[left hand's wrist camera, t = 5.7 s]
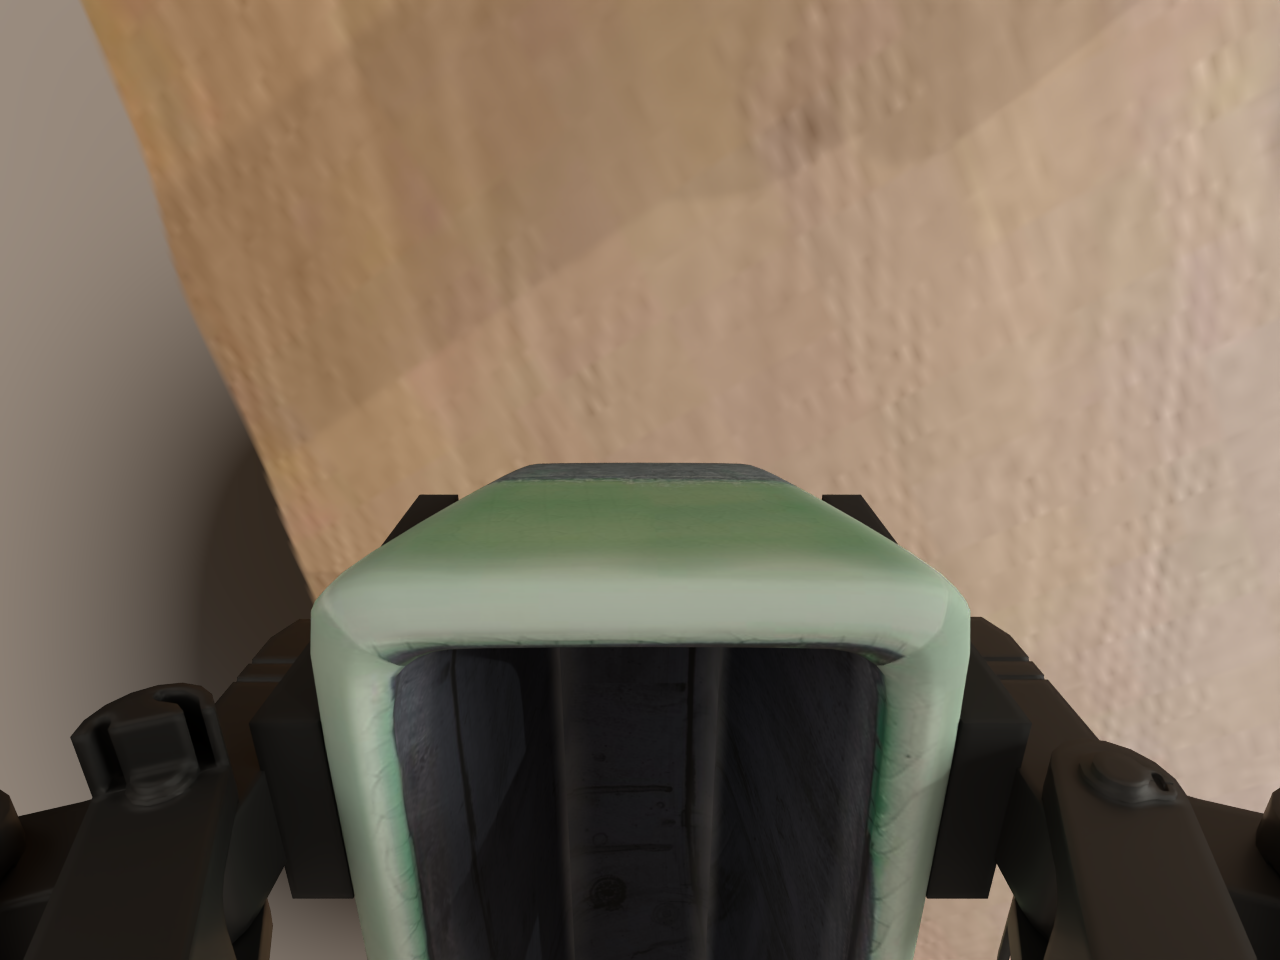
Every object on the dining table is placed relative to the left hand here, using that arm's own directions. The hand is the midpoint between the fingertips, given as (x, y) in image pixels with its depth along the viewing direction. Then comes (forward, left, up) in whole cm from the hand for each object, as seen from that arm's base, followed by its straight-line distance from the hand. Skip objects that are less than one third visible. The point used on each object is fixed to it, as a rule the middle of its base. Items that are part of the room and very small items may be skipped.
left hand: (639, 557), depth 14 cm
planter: (+11, 0, -1) cm, 11 cm away
